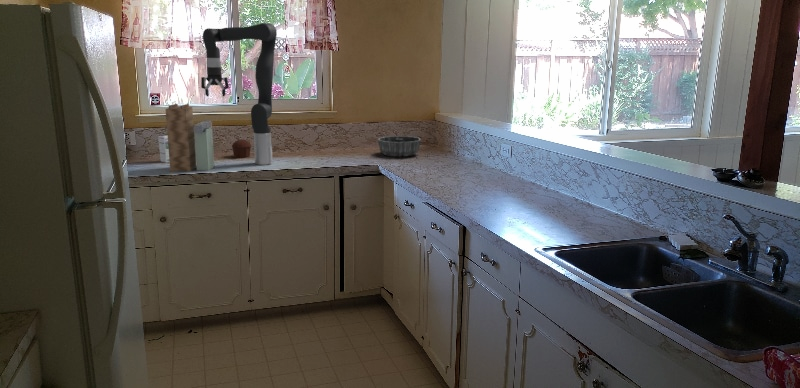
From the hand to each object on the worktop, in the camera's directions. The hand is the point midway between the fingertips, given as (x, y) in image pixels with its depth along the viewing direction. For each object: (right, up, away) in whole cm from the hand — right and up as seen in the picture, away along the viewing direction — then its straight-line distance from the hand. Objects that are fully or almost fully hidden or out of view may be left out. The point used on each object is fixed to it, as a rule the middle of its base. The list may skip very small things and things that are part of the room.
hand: (215, 96), depth 334 cm
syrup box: (-28, -36, +5) cm, 46 cm away
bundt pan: (+101, -30, +36) cm, 111 cm away
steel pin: (-1, -21, -17) cm, 27 cm away
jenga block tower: (-12, -41, -16) cm, 45 cm away
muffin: (+9, -32, +23) cm, 40 cm away
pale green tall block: (-1, -40, -13) cm, 42 cm away
